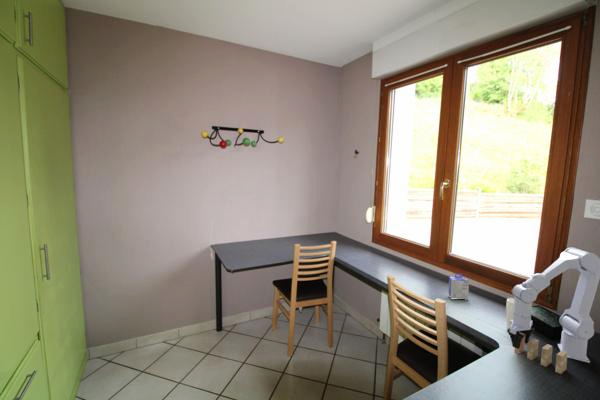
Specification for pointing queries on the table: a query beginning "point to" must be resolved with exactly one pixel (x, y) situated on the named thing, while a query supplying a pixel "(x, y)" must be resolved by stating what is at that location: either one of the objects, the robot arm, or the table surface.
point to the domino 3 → (561, 362)
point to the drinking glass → (510, 311)
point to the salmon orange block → (521, 346)
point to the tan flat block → (546, 355)
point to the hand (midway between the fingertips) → (520, 345)
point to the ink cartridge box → (458, 287)
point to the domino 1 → (532, 349)
